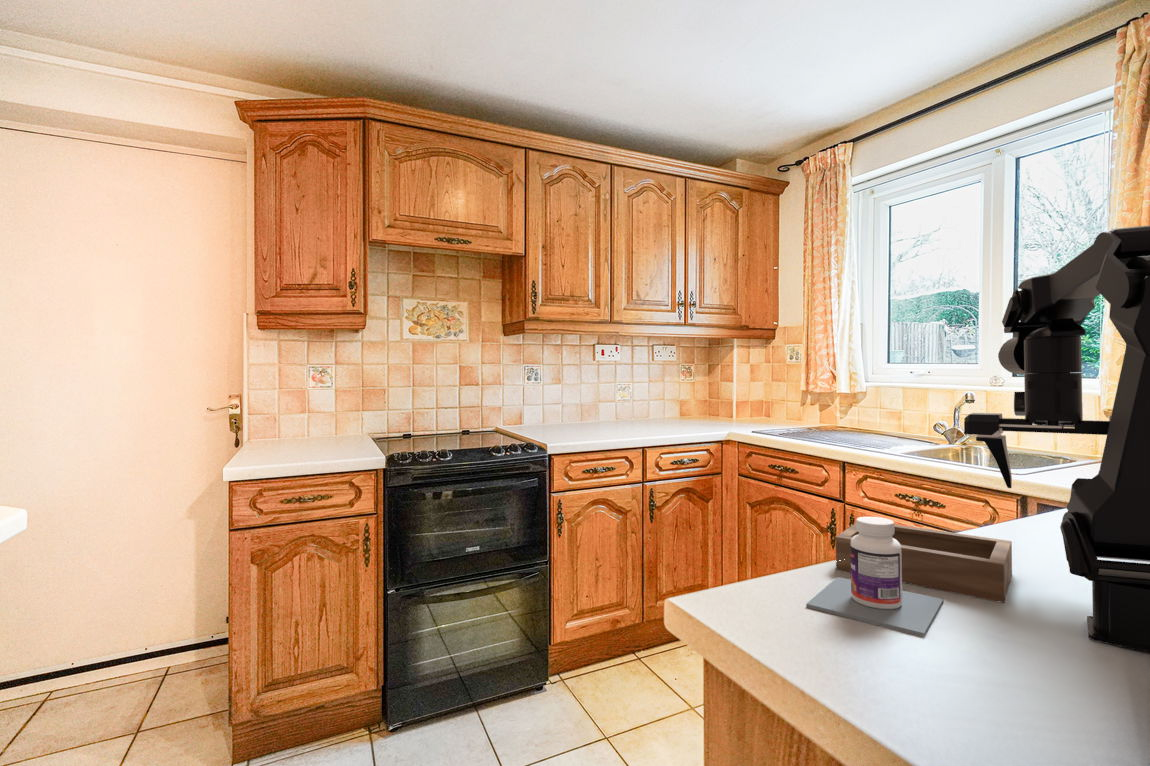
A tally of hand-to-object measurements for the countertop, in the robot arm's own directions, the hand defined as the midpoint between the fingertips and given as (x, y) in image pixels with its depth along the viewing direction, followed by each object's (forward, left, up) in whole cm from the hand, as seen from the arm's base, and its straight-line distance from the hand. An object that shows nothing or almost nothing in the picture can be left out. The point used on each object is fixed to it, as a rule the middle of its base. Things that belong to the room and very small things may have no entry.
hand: (1054, 491), depth 72 cm
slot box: (-6, +14, -12) cm, 19 cm away
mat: (-23, +16, -12) cm, 30 cm away
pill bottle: (-23, +16, -12) cm, 30 cm away
